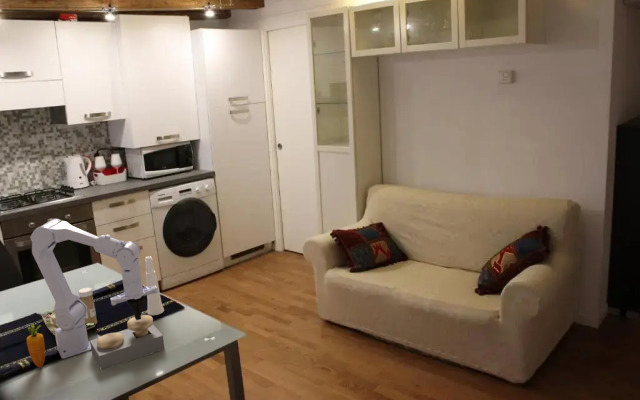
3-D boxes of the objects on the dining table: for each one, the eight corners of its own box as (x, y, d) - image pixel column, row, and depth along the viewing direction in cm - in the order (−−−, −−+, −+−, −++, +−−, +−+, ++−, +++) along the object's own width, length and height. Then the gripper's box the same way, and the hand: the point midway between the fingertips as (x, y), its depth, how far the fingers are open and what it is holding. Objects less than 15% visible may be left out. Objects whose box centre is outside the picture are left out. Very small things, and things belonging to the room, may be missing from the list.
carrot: (35, 364, 177) (27, 321, 173) (51, 363, 177) (43, 320, 173) (29, 373, 172) (20, 329, 168) (45, 371, 172) (37, 327, 168)
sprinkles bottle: (98, 324, 201) (93, 290, 198) (85, 328, 199) (79, 293, 195) (95, 319, 205) (90, 286, 202) (82, 323, 203) (77, 289, 199)
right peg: (133, 346, 178) (131, 329, 176) (126, 336, 184) (124, 319, 183) (158, 338, 182) (156, 321, 181) (150, 328, 189) (148, 312, 187)
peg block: (101, 370, 171) (99, 356, 170) (92, 354, 181) (89, 340, 180) (164, 349, 182) (162, 335, 181) (152, 335, 192) (150, 321, 190)
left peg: (103, 365, 173) (100, 348, 172) (96, 354, 180) (93, 337, 178) (128, 356, 178) (126, 339, 176) (121, 346, 184) (119, 330, 183)
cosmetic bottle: (143, 314, 208) (136, 259, 202) (154, 307, 213) (147, 253, 207) (157, 316, 205) (149, 260, 200) (167, 309, 211) (160, 254, 205)
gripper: (112, 290, 171) (118, 330, 174) (158, 277, 178) (163, 316, 182) (106, 283, 176) (112, 322, 180) (151, 271, 184) (156, 308, 188)
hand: (137, 318), depth 181 cm, fingers closed
